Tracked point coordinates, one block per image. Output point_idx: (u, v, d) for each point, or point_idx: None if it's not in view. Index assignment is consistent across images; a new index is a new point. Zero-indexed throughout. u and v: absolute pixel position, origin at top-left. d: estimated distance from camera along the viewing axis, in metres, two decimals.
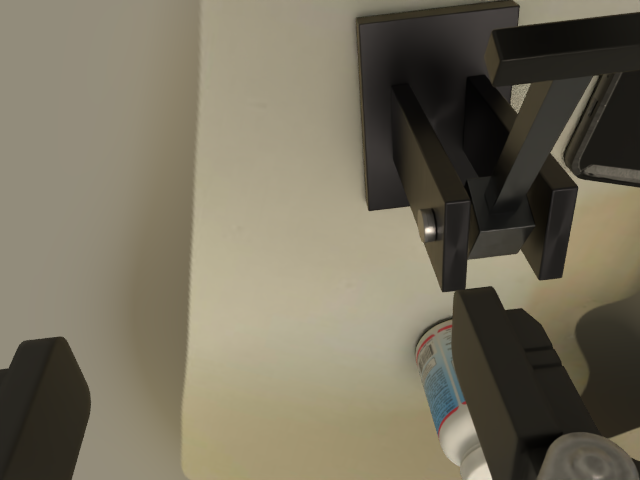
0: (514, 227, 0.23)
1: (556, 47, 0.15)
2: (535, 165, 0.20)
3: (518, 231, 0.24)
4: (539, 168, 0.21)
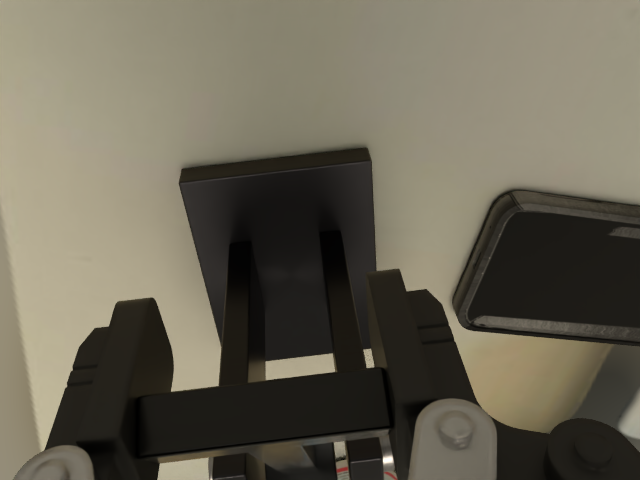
0: None
1: (218, 436, 0.11)
2: (301, 463, 0.16)
3: None
4: (309, 463, 0.16)
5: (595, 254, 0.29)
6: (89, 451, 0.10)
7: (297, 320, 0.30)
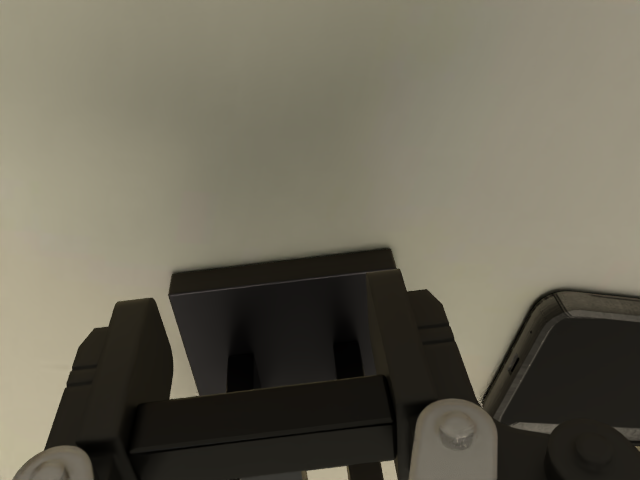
0: None
1: (214, 431, 0.10)
2: None
3: None
4: None
5: None
6: (89, 451, 0.10)
7: None
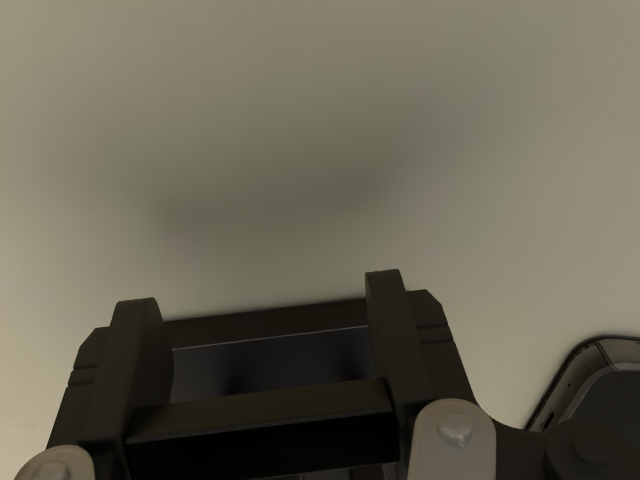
0: None
1: (211, 422, 0.10)
2: None
3: None
4: None
5: None
6: (90, 451, 0.10)
7: None
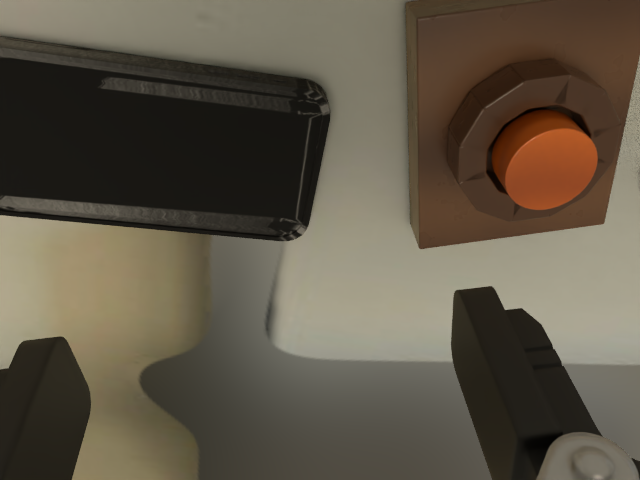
0: None
1: None
2: None
3: None
4: None
5: (97, 114, 0.25)
6: None
7: None
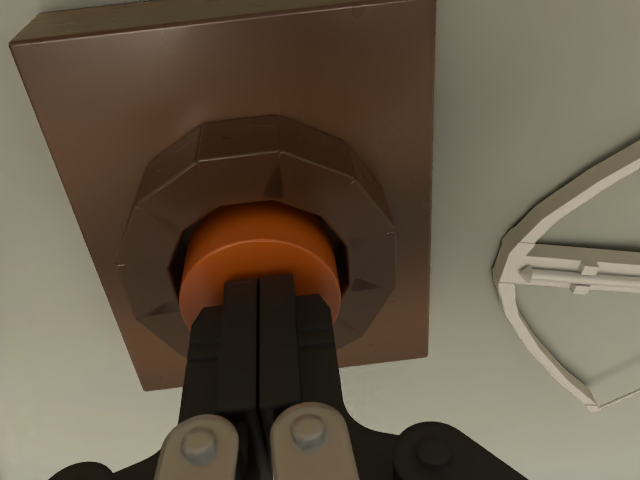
0: None
1: None
2: None
3: None
4: None
5: None
6: None
7: None
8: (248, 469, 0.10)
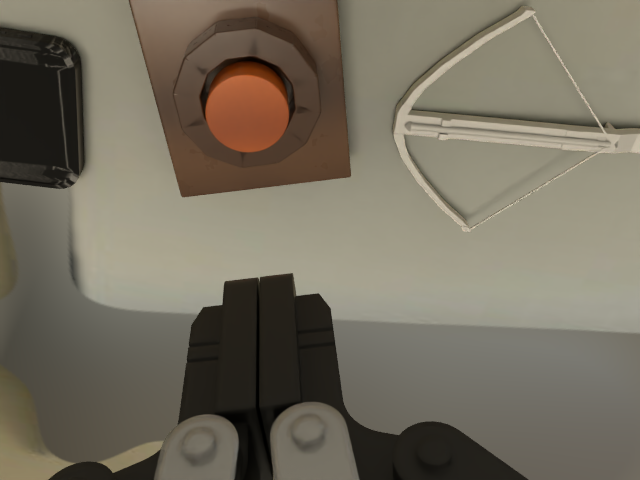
0: None
1: None
2: None
3: None
4: None
5: None
6: None
7: None
8: (248, 469, 0.10)
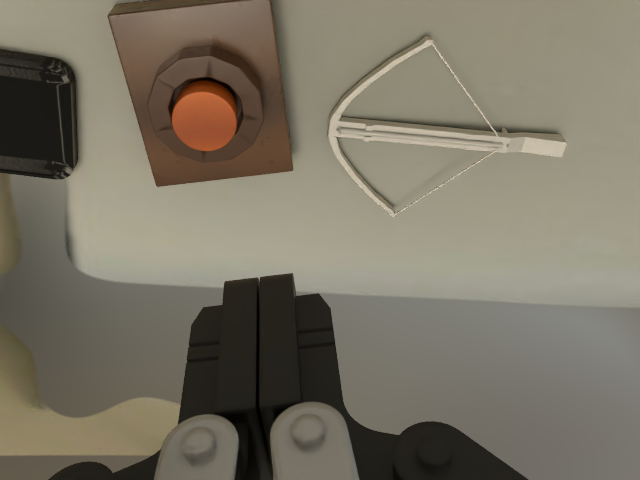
0: None
1: None
2: None
3: None
4: None
5: None
6: None
7: None
8: (248, 469, 0.10)
